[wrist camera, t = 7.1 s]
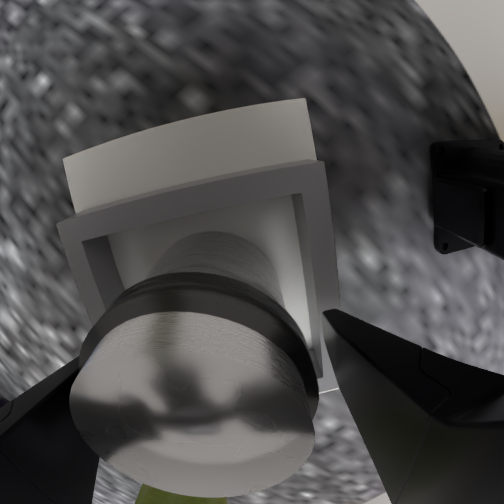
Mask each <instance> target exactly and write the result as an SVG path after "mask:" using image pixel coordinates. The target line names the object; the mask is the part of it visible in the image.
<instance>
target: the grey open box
mask: <svg viewBox="0 0 504 504" xmlns="http://www.w3.org/2000/svg"><path fill="white" fill-rule="evenodd" d="M63 163H64V167H65V172H66V177H67V181H68V185H69V189H70V194H71V198H72V201H73V205H74V209H75V213H76V214H74V215H72V216H70V217H68V218H66V219H64V220H62V221H60V222H58V223H56V226H57V229H58V233H59V236H60V239H61V242H62V245H63V249H64V252H65V255H66V258H67V261H68V263H69V266H70V269H71V272H72V275H73V277H74V280H75V283H76V285H77V288H78V291H79V293H80V296H81V298H82V301H83V303H84V306H85V308H86V310H87V313H88V315H89V317H90V320H91V322H92V324H93V326H94V325H95V324H96V322H97V321H98V320H99V319H100V317H101V316H102V315H103V313H104V312H105V311H106V310H107V308H108V307H109V306H110V305H111V303H112V302H113V301H114V300H115V299H116V298H117V297H118V296H119V295H120V294H121V293H122V292H124V291H125V290H126V289H128V288H130V287H131V286H133V285H135V284H136V283H138V282H141V281H143V279H144V278H145V277H146V275H147V274H148V273H149V271H150V270H151V269H152V267H153V266H154V265H155V263H156V262H157V261H158V259H159V258H160V257H161V255H162V254H163V253H164V252H165V251H166V250H167V249H168V248H169V247H170V246H171V245H172V244H173V243H175V242H176V241H178V240H180V239H181V238H184V237H186V236H188V235H191V234H195V233H198V232H205V231H219V232H227V233H230V234H234V235H237V236H239V237H242V238H244V239H246V240H248V241H250V242H251V243H253V244H254V245H255V246H257V247H258V248H259V249H260V250H261V251H262V252H263V253H264V254H265V255H266V256H267V257H268V259H269V260H270V261H271V263H272V265H273V266H274V268H275V271H276V273H277V275H278V279H279V283H280V287H281V291H282V295H283V299H284V303H285V308H286V311H287V312H288V313H289V314H290V315H291V316H292V318H293V319H294V320H295V321H296V323H297V324H298V326H299V328H300V329H301V331H302V333H303V335H304V338H305V340H306V343H307V345H308V349H309V352H310V355H311V359H312V362H313V366H314V369H315V372H316V376H317V380H318V386H319V394H320V393H324V392H328V391H332V390H336V389H339V386H338V383H337V380H336V377H335V374H334V371H333V368H332V364H331V361H330V358H329V355H328V352H327V348H326V345H325V342H324V337H323V327H322V316H321V315H322V312H323V311H325V310H330V309H334V308H336V309H338V310H340V311H341V309H340V294H339V282H338V270H337V259H336V249H335V240H334V231H333V222H332V214H331V206H330V198H329V191H328V184H327V177H326V171H325V164H324V161H317V158H316V153H315V147H314V141H313V135H312V130H311V124H310V119H309V114H308V109H307V104H306V99H305V98H299V99H291V100H283V101H276V102H269V103H263V104H257V105H251V106H245V107H239V108H234V109H229V110H224V111H219V112H214V113H210V114H205V115H201V116H196V117H192V118H188V119H184V120H180V121H176V122H172V123H168V124H165V125H161V126H157V127H154V128H150V129H147V130H143V131H140V132H137V133H133V134H130V135H127V136H124V137H121V138H118V139H115V140H112V141H109V142H106V143H103V144H100V145H97V146H94V147H92V148H89V149H86V150H84V151H81V152H78V153H76V154H73V155H71V156H68V157H66V158H63Z"/></svg>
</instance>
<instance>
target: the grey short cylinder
mask: <svg viewBox="0 0 504 504" xmlns="http://www.w3.org/2000/svg"><path fill="white" fill-rule="evenodd" d="M318 401H319V386H318V380H317V376H316V372H315V369H314V366H313V362H312V359H311V355H310V352H309V349H308V345H307V343H306V340H305V338H304V335H303V333H302V331H301V329H300V328H299V326H298V324H297V323H296V321H295V320H294V319H293V318H292V316H291V315H290V314H289V313H288V312H287V311H286V308H285V303H284V299H283V295H282V291H281V287H280V283H279V279H278V275H277V273H276V271H275V268H274V266H273V265H272V263H271V261H270V260H269V259H268V257H267V256H266V255H265V254H264V253H263V252H262V251H261V250H260V249H259V248H258V247H257V246H255V245H254V244H253V243H251V242H250V241H248V240H246V239H244V238H242V237H239V236H237V235H234V234H230V233H227V232H219V231H205V232H198V233H195V234H191V235H188V236H186V237H184V238H181V239H180V240H178V241H176V242H175V243H173V244H172V245H171V246H170V247H169V248H168V249H167V250H166V251H165V252H164V253H163V254H162V255H161V257H160V258H159V259H158V261H157V262H156V263H155V265H154V266H153V267H152V269H151V270H150V271H149V273H148V274H147V275H146V277H145V278H144V279H143V281H141V282H138V283H136V284H135V285H133V286H131V287H130V288H128V289H126V290H125V291H124V292H122V293H121V294H120V295H119V296H118V297H117V298H116V299H115V300H114V301H113V302H112V303H111V305H110V306H109V307H108V308H107V310H106V311H105V312H104V313H103V315H102V316H101V317H100V319H99V320H98V321H97V322H96V324H95V325H94V326H93V328H92V329H91V330H90V332H89V333H88V335H87V336H86V338H85V340H84V342H83V344H82V348H81V351H80V355H79V374H78V376H77V377H76V379H75V381H74V383H73V385H72V387H71V392H70V396H69V406H70V411H71V416H72V419H73V421H74V424H75V426H76V428H77V430H78V431H79V433H80V435H81V436H82V438H83V439H84V440H85V442H86V443H87V444H88V445H89V446H90V448H91V449H92V450H93V451H94V452H95V453H96V454H97V455H98V456H100V457H101V458H102V459H103V460H104V461H105V462H107V463H108V464H109V465H111V466H112V467H114V468H115V469H117V470H118V471H120V472H121V473H123V474H125V475H127V476H129V477H130V478H132V479H134V480H137V481H139V482H141V483H143V484H146V485H148V486H151V487H154V488H157V489H160V490H163V491H167V492H171V493H176V494H180V495H186V496H194V497H206V498H220V497H233V496H240V495H246V494H250V493H255V492H258V491H261V490H264V489H267V488H270V487H272V486H274V485H277V484H279V483H280V482H282V481H284V480H286V479H287V478H289V477H290V476H291V475H293V474H294V473H295V472H296V471H298V470H299V469H300V468H301V467H302V466H303V464H304V463H305V462H306V460H307V459H308V457H309V455H310V453H311V451H312V449H313V445H314V439H315V431H314V427H313V422H312V420H313V418H314V415H315V413H316V410H317V406H318Z"/></svg>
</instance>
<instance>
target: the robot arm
mask: <svg viewBox="0 0 504 504" xmlns="http://www.w3.org/2000/svg"><path fill="white" fill-rule="evenodd" d="M439 147H440V149H441V153H440V154H439V153H438V148H439ZM431 160H432V170H433V194H434V222H435V249H436V250H437V251H438V252H439V253H441V254H448V253H452V252H455V251H459V250H462V249H466V248H470V247H473V246H477V247H479V248H482V249H484V250H486V251H488V252H489V253H491V254H493V255H495V256H497V257H499V258H501V259H503V260H504V142H503V141H502V140H458V141H437V142H434V143H433V144H432V145H431ZM443 243H445V244H444V247H443V248H442V245H443ZM321 316H322V327H323V337H324V342H325V345H326V348H327V352H328V355H329V358H330V361H331V364H332V368H333V371H334V374H335V377H336V380H337V383H338V386H339V388H340V390H341V393H342V395H343V397H344V399H345V401H346V403H347V406H348V408H349V410H350V412H351V414H352V416H353V419H354V421H355V423H356V425H357V427H358V429H359V432H360V434H361V436H362V438H363V440H364V443H365V445H366V447H367V449H368V451H369V454H370V456H371V458H372V460H373V463H374V465H375V467H376V469H377V472H378V474H379V476H380V478H381V481H382V483H383V485H384V487H385V490H386V492H387V494H388V496H389V498H390V501H391V503H392V504H504V375H501V374H498V373H495V372H491V371H488V370H484V369H481V368H478V367H475V366H471V365H468V364H465V363H462V362H459V361H456V360H453V359H450V358H448V357H445V356H443V355H440V354H438V353H435V352H433V351H431V350H428V349H426V348H422V347H421V346H419V345H417V344H414V343H412V342H410V341H408V340H405V339H403V338H401V337H399V336H396V335H394V334H392V333H390V332H387V331H385V330H383V329H381V328H378V327H376V326H374V325H372V324H369V323H367V322H365V321H363V320H360V319H358V318H356V317H354V316H352V315H349V314H347V313H345V312H343V311H340V310H338V309H336V308H334V309H330V310H325V311H323V312H322V315H321ZM78 374H79V356H78V357H77V358H75V359H74V360H72V361H71V362H69V363H68V364H66V365H65V366H63V367H62V368H60V369H59V370H57V371H56V372H54V373H53V374H51V375H50V376H48V377H47V378H45V379H44V380H42V381H41V382H39V383H38V384H36V385H35V386H33V387H32V388H30V389H29V390H27V391H26V392H24V393H23V394H21V395H20V396H18V397H17V398H15V399H14V400H12V401H11V402H9V403H8V404H6V405H5V406H3V407H1V408H0V504H92V499H93V492H94V486H95V480H96V474H97V469H98V463H99V458H100V456H98V455H97V454H96V453H95V452H94V451H93V450H92V449H91V448H90V446H89V445H88V444H87V443H86V442H85V440H84V439H83V438H82V436H81V435H80V433H79V431H78V430H77V428H76V426H75V424H74V421H73V419H72V416H71V411H70V406H69V396H70V392H71V387H72V385H73V383H74V381H75V379H76V377H77V376H78Z"/></svg>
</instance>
